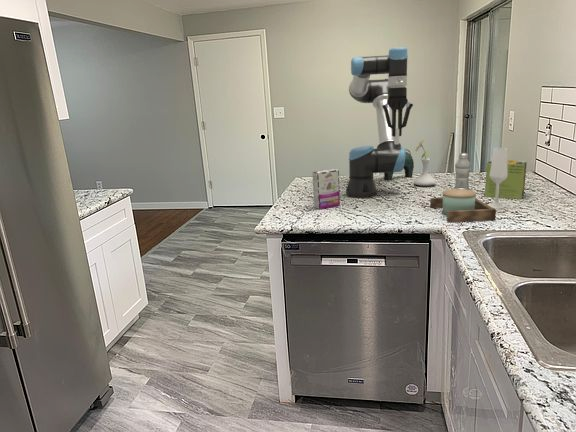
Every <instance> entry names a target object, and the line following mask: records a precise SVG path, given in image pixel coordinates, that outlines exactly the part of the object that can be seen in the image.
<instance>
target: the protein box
mask: <svg viewBox="0 0 576 432" xmlns="http://www.w3.org/2000/svg"><path fill="white" fill-rule="evenodd" d="M491 163H492V159H491V160H489V161H488V162H487V163H486V171H485V172H486V174H485V175H486V176H485V187H484V197H485V198H486V197H487V198H495V193H496V183H495V182H493V181H492V180H491V178H490V176H489V175H490V169H491ZM527 163H528V161H527V160H514V159H513V160H508V159H507V173H508V176H507V178H506V179H505V180H504V181H503V182H502V183H500V184H499V195H498V199H499V198H501V199H502V198H503V199H515V200H517V199H518V200H522V199H523V198H524V195H525V185H526V177H527V176H526V175H527V166H528V165H527Z"/></svg>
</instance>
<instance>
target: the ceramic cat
mask: <svg viewBox="0 0 576 432" xmlns="http://www.w3.org/2000/svg"><path fill="white" fill-rule="evenodd" d="M405 151H406V153H405V163H404V168H403V170H404V177H405V178H407V177H410V178H412V177H413V174H414V168H415V167H414V163H415V162H414V158H413V156H412V153H411V151H410V150H409V149H406V148H405ZM393 175H394V173H393V172H389V173H383V176H384V178H383V179H384V181H386V180H387V181H388V182H389V180H390V181H392V180H393ZM387 181H386V182H387Z"/></svg>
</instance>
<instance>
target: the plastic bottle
mask: <svg viewBox="0 0 576 432" xmlns="http://www.w3.org/2000/svg"><path fill="white" fill-rule="evenodd" d="M468 158H469V153H468V152H467V153H466V152H459V153H458V159H457V161H456V162H455V164H454V170H455V182H454V188H453V189H466V190H470V185H469V184H470V183H469V180H470V178H469V177H470V171H471V162H470V161H469V159H468Z"/></svg>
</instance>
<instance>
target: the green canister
mask: <svg viewBox="0 0 576 432" xmlns="http://www.w3.org/2000/svg"><path fill="white" fill-rule="evenodd" d="M476 196H477V192H476V191H475V190H472V189H469V190H466V189H454V188H451V189H445V190H443V191H442V198H443V208H441V209H442V212H441V213H442V215H443V216H446V217H447V211H457V210H475V198H476V199H477V197H476Z"/></svg>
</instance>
